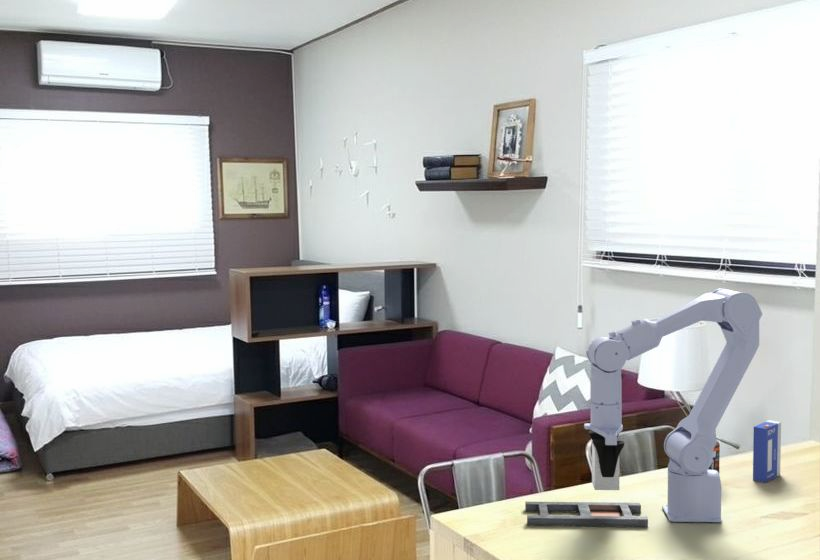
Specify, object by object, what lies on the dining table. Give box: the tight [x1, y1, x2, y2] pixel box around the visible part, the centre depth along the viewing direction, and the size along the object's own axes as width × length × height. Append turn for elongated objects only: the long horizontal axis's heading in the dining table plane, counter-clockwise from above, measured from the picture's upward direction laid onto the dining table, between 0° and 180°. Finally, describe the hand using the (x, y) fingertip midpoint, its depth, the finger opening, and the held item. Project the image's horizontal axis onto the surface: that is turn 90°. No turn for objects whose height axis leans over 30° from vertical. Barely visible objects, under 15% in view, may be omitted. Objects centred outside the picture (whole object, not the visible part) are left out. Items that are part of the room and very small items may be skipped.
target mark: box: [590, 511, 621, 516], centre depth 165 cm, size 5×5×1 cm
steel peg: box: [591, 441, 620, 491], centre depth 165 cm, size 4×4×8 cm
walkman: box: [752, 419, 782, 483], centre depth 187 cm, size 8×3×12 cm, turn 134°
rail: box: [524, 501, 649, 528], centre depth 166 cm, size 22×9×2 cm, turn 85°
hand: (605, 472), depth 165 cm, fingers closed on steel peg, 4 cm apart
